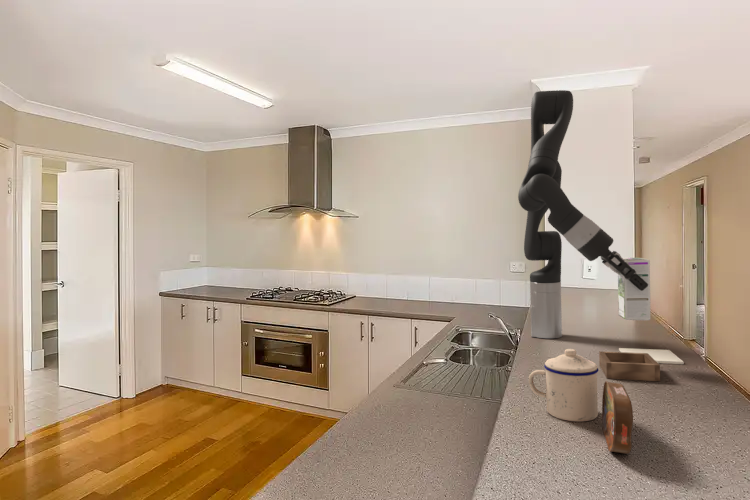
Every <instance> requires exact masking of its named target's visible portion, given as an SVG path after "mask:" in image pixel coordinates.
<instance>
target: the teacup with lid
mask: <svg viewBox="0 0 750 500" xmlns="http://www.w3.org/2000/svg"><path fill="white" fill-rule="evenodd" d="M543 367H544V369H545V370H544V369H535V370H533V371H532V372H531V373H530V374H529V375H528V385H529V388H530V389H531V391H532V392H533V393H534V394H535V395H537V396H538V397H540V398H545V399H546V412H548V414H550V415H551V416H552V417H553V418H557V419H559V420H562V421H568V422H576V423H577V422H578V423H579V422H590V421H593V420H595V419H597V417H598V414H599V412H598V411H599V410H598V409H599V408H598V405H599V403H598V402H599V401H598V398H599V397H598V372H599V367H598V365H597V363H595V362H593V361H592V360H589V359H587V358H584V357H583V356H582V355H579V354H577V350H576V349H573V348H566V349H565V350H564V353H563V354H560V355H557V356H556V357H552V358H548V359H547V360H546V361H545V362H544V366H543ZM537 375H543V376H545V392H543V391H540V390H539V389H537V387H536V386H535V384H534V376H537Z"/></svg>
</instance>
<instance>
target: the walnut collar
mask: <svg viewBox="0 0 750 500" xmlns="http://www.w3.org/2000/svg"><path fill="white" fill-rule="evenodd" d="M598 357H599V358H598V360H599V361H598V362H599V368H600V369H601V371H602V373H603V374H604V376H605V378H606V379H611V380H612V379H613V380H626V381H627V380H630V381H631V380H632V381H647V382H650V381H651V382H661V365H660V363H657V362H656V361H655V360H654V359H653V358H652V357H651V356H650V355H649V354H648V353H628V352H620V351H603V350H602V351H599V353H598Z"/></svg>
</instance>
